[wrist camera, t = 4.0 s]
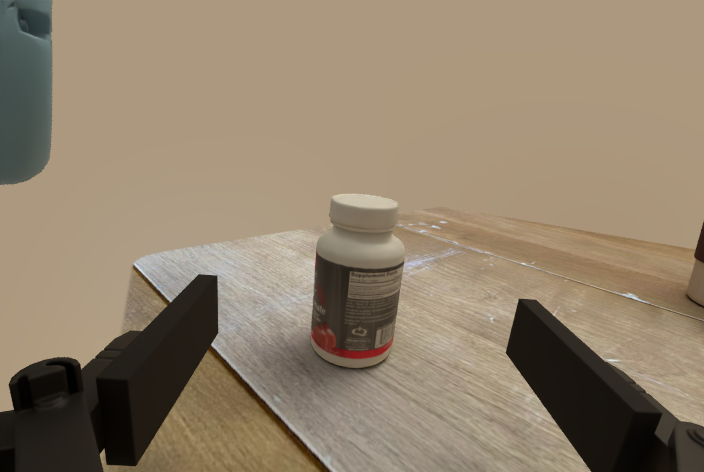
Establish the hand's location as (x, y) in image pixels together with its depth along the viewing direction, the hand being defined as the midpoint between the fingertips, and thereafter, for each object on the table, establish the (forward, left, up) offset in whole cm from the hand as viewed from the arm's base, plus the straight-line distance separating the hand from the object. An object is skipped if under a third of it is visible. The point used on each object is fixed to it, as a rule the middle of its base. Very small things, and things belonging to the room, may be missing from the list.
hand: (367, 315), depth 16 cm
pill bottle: (+1, +7, -6) cm, 9 cm away
